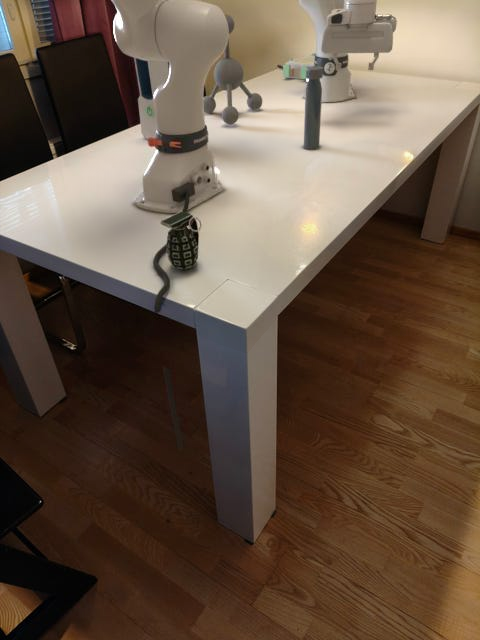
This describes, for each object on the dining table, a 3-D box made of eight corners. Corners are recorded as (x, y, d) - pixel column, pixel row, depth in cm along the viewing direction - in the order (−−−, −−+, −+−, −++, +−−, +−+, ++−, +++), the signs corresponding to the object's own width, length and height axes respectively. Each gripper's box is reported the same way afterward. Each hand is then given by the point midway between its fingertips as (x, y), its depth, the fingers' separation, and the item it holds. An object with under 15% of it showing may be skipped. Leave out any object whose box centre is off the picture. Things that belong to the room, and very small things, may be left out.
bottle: (322, 148, 139) (326, 69, 127) (308, 150, 138) (311, 72, 125) (314, 143, 142) (317, 67, 130) (301, 146, 141) (303, 69, 129)
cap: (325, 78, 128) (326, 68, 126) (310, 80, 127) (311, 70, 125) (317, 75, 131) (317, 65, 130) (303, 77, 130) (303, 67, 128)
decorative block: (304, 51, 222) (344, 54, 212) (304, 67, 226) (343, 70, 216) (274, 62, 206) (316, 65, 196) (274, 78, 210) (315, 83, 200)
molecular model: (282, 115, 166) (282, 11, 148) (228, 129, 157) (221, 20, 138) (243, 102, 182) (239, 7, 163) (192, 114, 173) (181, 15, 154)
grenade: (182, 278, 88) (175, 228, 82) (162, 268, 91) (153, 219, 85) (208, 263, 92) (203, 214, 85) (187, 253, 95) (181, 205, 89)
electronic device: (141, 137, 154) (123, 28, 136) (159, 131, 158) (144, 24, 140) (166, 145, 147) (151, 30, 129) (185, 138, 151) (172, 26, 133)
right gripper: (397, 12, 136) (390, 67, 144) (323, 15, 140) (321, 68, 149) (398, 15, 131) (390, 72, 140) (321, 17, 136) (319, 72, 144)
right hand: (354, 70), depth 144 cm, fingers open, 8 cm apart
